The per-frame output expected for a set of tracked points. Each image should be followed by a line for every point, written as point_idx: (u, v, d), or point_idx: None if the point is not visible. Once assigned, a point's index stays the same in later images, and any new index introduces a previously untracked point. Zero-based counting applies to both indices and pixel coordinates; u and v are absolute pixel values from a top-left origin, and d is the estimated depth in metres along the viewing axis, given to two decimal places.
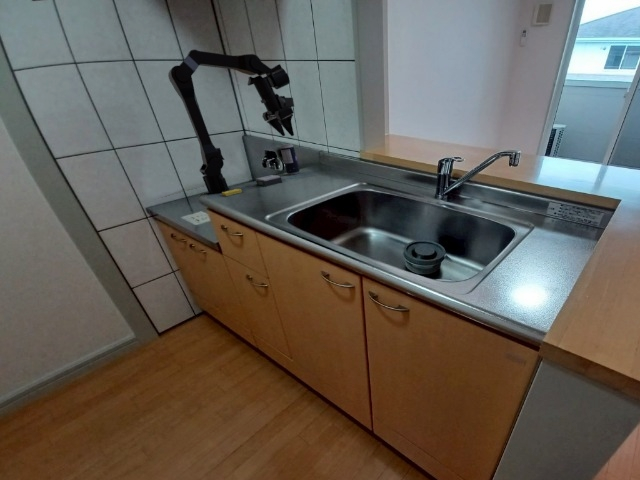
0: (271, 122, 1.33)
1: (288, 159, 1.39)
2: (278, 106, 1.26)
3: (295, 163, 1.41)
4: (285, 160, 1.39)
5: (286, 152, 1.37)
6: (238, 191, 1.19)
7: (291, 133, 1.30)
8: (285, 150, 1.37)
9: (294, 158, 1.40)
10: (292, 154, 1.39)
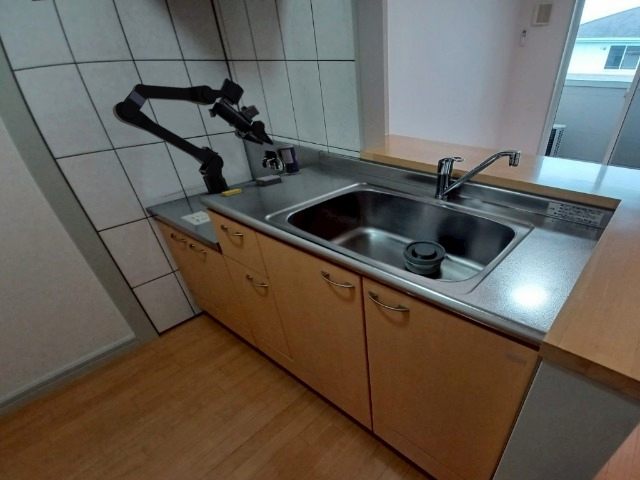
0: (246, 138, 1.31)
1: (288, 159, 1.39)
2: (246, 123, 1.23)
3: (295, 163, 1.41)
4: (285, 160, 1.39)
5: (286, 152, 1.37)
6: (238, 191, 1.19)
7: (270, 143, 1.29)
8: (285, 150, 1.37)
9: (294, 158, 1.40)
10: (292, 154, 1.39)
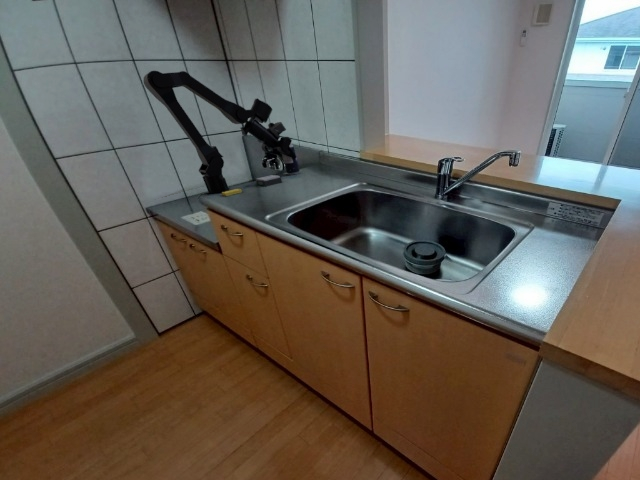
0: (274, 152, 1.39)
1: (288, 159, 1.39)
2: (274, 139, 1.32)
3: (295, 163, 1.41)
4: (285, 160, 1.39)
5: None
6: (238, 191, 1.19)
7: (293, 157, 1.39)
8: None
9: (294, 158, 1.40)
10: None
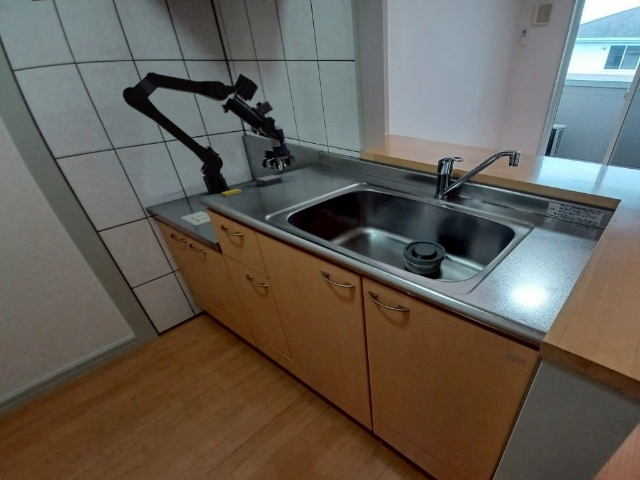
0: (262, 134, 1.30)
1: (275, 142, 1.29)
2: (259, 119, 1.22)
3: (283, 147, 1.30)
4: (272, 143, 1.29)
5: None
6: (238, 191, 1.19)
7: (281, 140, 1.29)
8: None
9: None
10: None
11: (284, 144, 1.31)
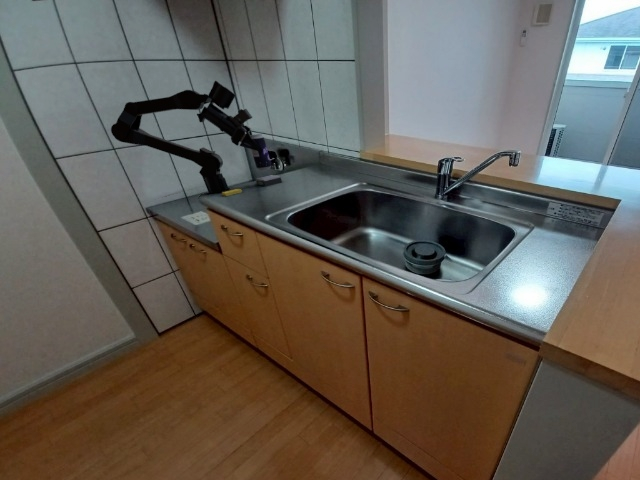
0: None
1: (254, 152, 1.21)
2: (234, 128, 1.15)
3: (262, 157, 1.22)
4: (252, 153, 1.22)
5: None
6: (238, 191, 1.19)
7: (259, 150, 1.20)
8: None
9: None
10: None
11: (264, 154, 1.22)
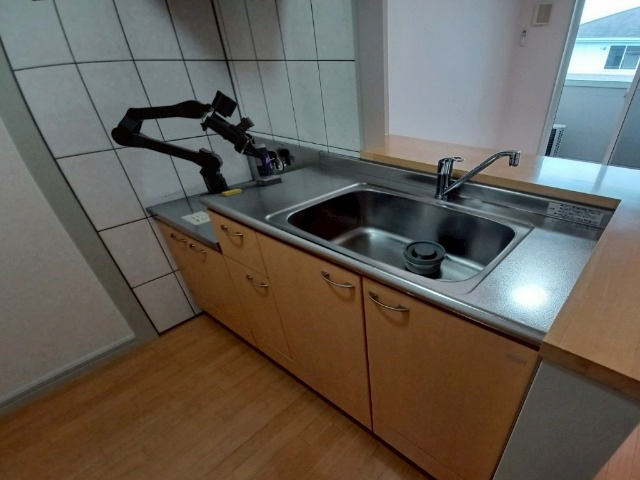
0: None
1: (256, 161, 1.23)
2: (237, 136, 1.17)
3: (265, 166, 1.24)
4: (255, 162, 1.24)
5: None
6: (238, 191, 1.19)
7: (261, 157, 1.20)
8: None
9: (264, 160, 1.23)
10: None
11: (267, 163, 1.24)
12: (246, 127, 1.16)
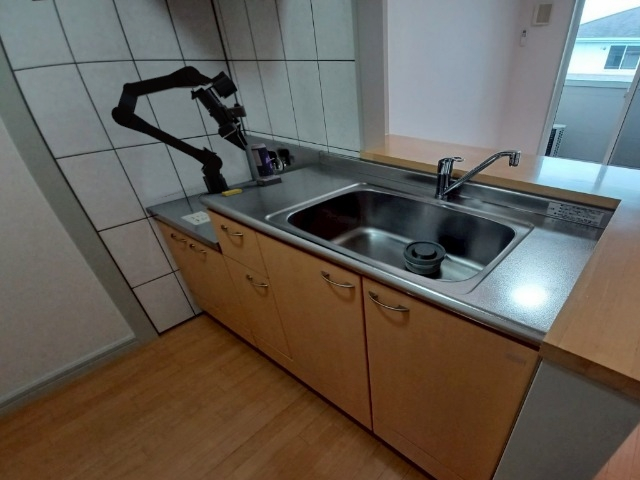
0: None
1: (256, 161, 1.23)
2: (225, 119, 1.16)
3: (265, 166, 1.24)
4: (255, 162, 1.24)
5: (254, 154, 1.21)
6: (238, 191, 1.19)
7: (242, 148, 1.20)
8: (253, 151, 1.21)
9: (264, 160, 1.23)
10: (260, 156, 1.22)
11: (267, 163, 1.24)
12: (237, 115, 1.16)
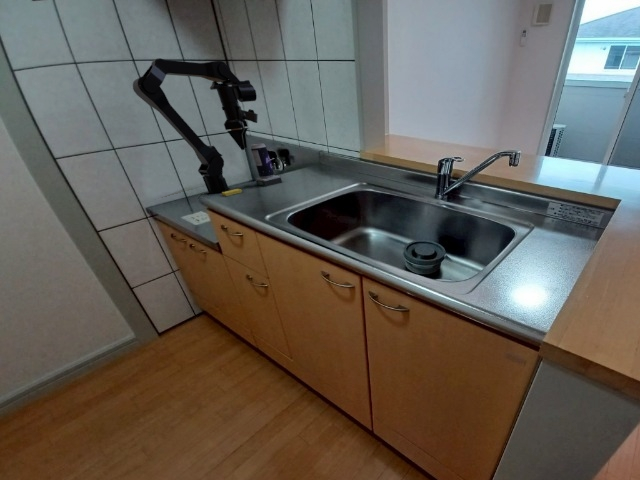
0: None
1: (256, 161, 1.23)
2: (235, 117, 1.20)
3: (265, 166, 1.24)
4: (255, 162, 1.24)
5: (254, 154, 1.21)
6: (238, 191, 1.19)
7: (240, 147, 1.24)
8: (253, 151, 1.21)
9: (264, 160, 1.23)
10: (260, 156, 1.22)
11: (267, 163, 1.24)
12: (249, 118, 1.22)
